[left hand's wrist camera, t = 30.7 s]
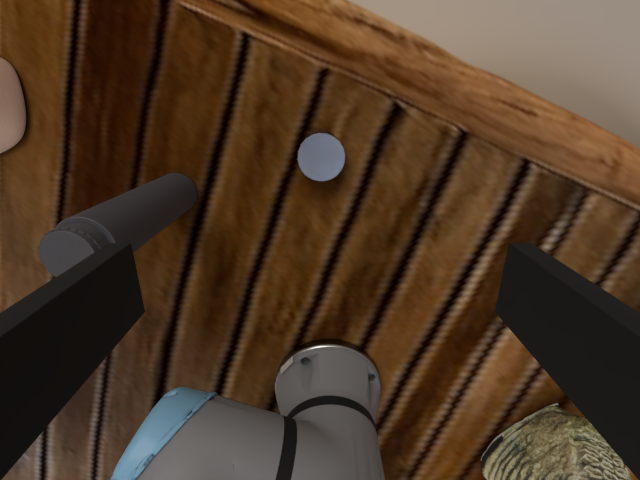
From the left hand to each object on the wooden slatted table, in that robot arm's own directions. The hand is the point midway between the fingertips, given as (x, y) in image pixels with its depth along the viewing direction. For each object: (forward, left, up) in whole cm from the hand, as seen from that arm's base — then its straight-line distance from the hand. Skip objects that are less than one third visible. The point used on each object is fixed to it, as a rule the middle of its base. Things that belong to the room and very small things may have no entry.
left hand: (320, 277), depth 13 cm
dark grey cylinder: (-9, +15, -30) cm, 35 cm away
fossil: (-32, -44, -30) cm, 62 cm away
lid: (0, 0, -29) cm, 29 cm away
